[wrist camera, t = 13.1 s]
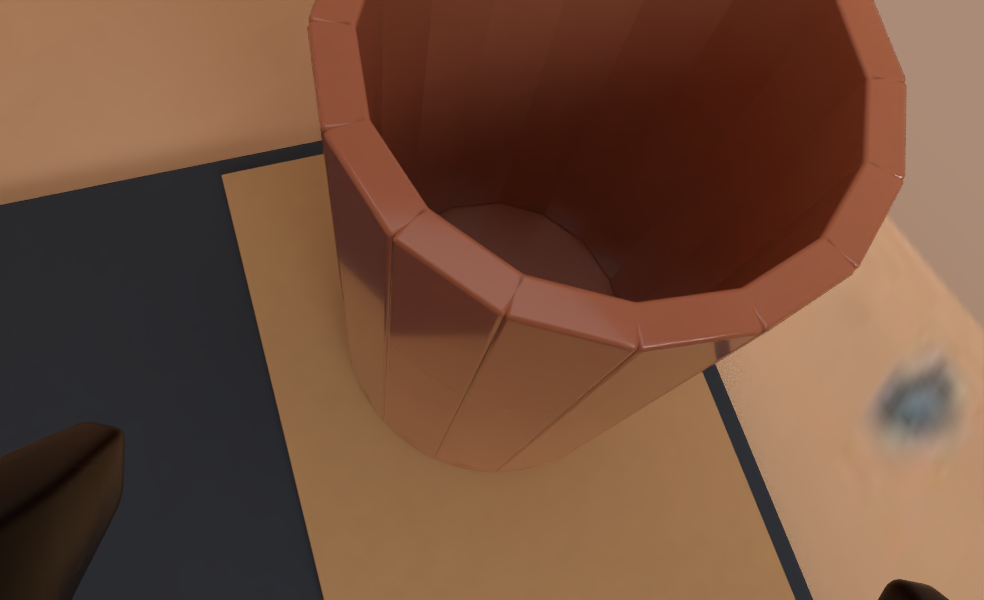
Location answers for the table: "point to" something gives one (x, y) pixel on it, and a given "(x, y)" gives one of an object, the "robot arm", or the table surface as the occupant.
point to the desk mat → (329, 422)
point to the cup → (588, 198)
